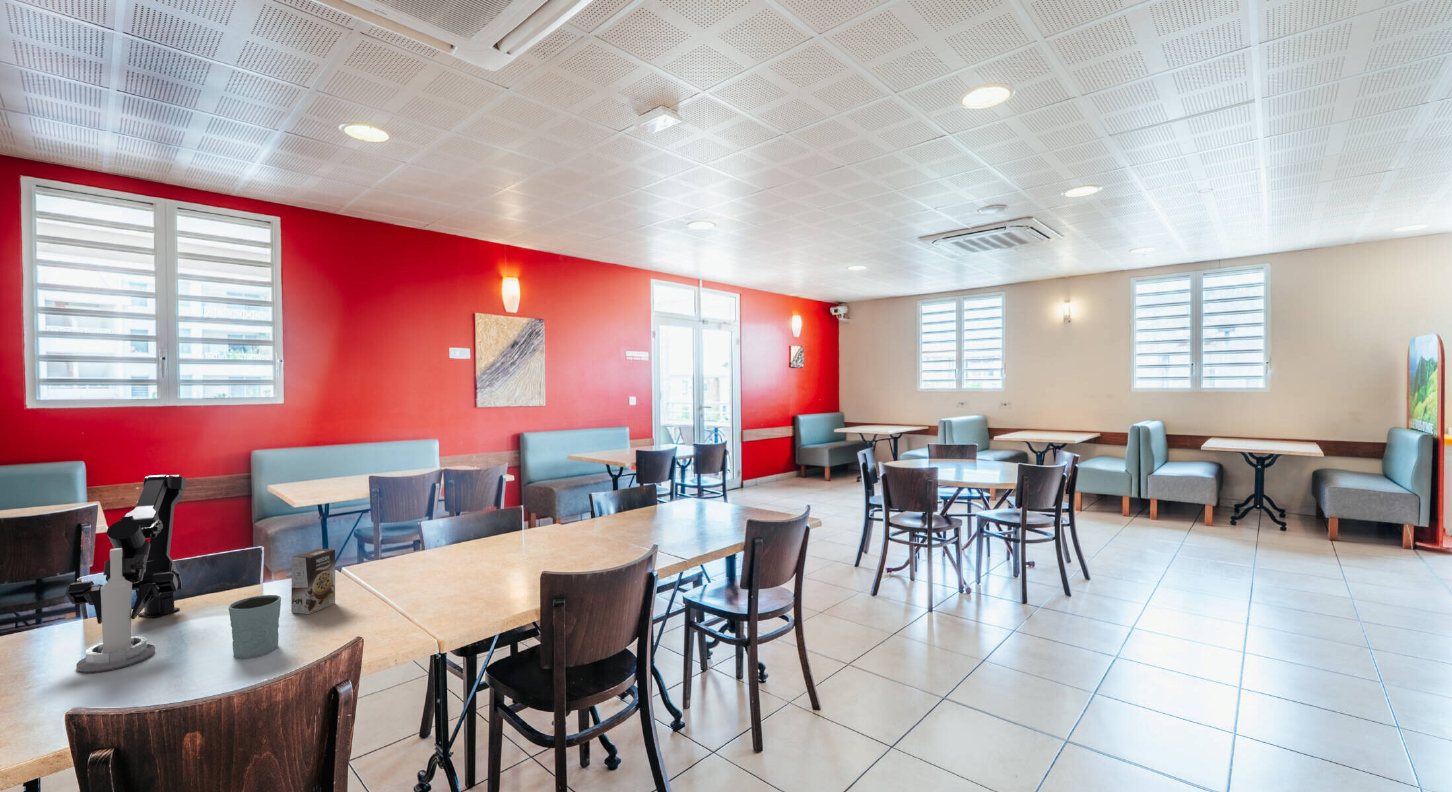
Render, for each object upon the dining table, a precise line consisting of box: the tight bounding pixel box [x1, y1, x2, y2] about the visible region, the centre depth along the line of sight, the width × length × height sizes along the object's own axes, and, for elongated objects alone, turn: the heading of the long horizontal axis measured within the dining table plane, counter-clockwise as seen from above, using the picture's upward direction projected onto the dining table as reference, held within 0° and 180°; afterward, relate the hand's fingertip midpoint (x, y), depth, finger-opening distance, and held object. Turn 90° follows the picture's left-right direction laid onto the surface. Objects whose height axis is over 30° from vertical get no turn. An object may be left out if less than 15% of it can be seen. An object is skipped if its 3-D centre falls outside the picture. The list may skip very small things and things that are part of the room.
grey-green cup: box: [228, 594, 282, 659], centre depth 148 cm, size 10×10×12 cm
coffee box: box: [290, 548, 336, 615], centre depth 176 cm, size 9×6×16 cm
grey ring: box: [75, 635, 156, 674], centre depth 142 cm, size 13×13×4 cm
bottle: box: [101, 548, 133, 653], centre depth 142 cm, size 5×5×25 cm
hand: (116, 620), depth 142 cm, fingers open, 5 cm apart
